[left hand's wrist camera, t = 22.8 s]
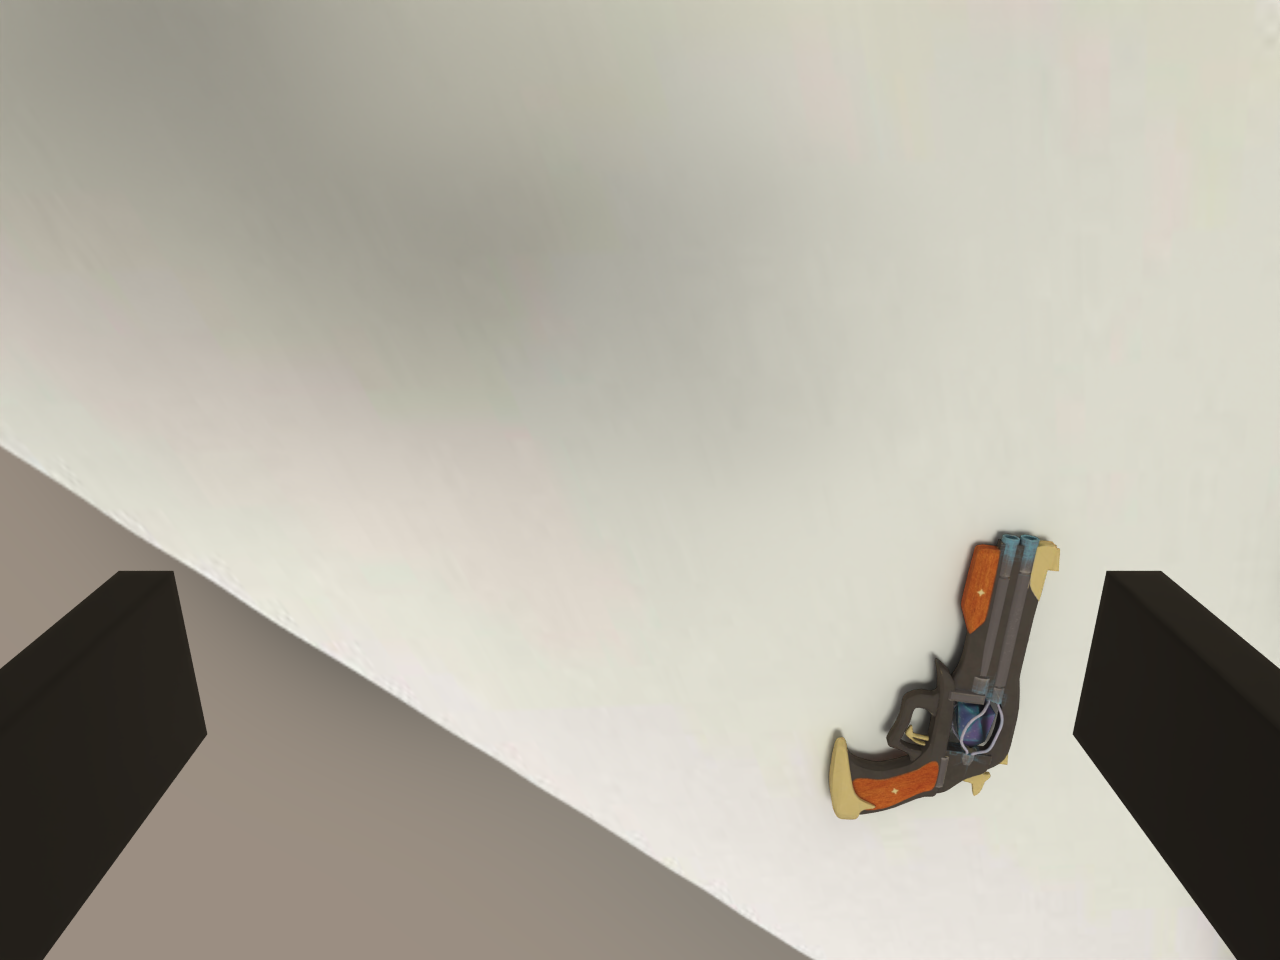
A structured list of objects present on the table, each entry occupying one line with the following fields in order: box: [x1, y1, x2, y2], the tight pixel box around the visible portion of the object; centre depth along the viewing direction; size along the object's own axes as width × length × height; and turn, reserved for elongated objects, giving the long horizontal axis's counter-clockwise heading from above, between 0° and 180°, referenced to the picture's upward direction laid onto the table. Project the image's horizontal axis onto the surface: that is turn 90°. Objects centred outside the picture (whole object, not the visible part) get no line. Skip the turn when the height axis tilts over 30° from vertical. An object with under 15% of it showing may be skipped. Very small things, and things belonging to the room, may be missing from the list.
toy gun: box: [829, 534, 1060, 819], centre depth 51 cm, size 3×19×10 cm
